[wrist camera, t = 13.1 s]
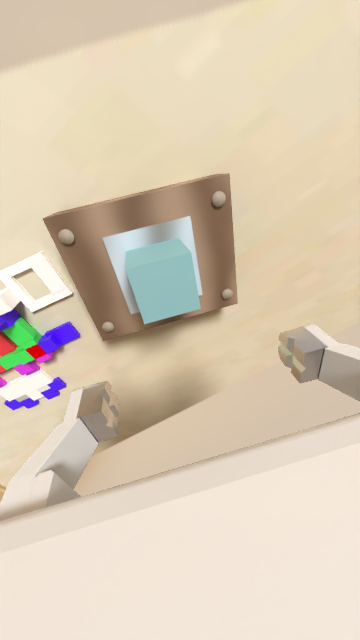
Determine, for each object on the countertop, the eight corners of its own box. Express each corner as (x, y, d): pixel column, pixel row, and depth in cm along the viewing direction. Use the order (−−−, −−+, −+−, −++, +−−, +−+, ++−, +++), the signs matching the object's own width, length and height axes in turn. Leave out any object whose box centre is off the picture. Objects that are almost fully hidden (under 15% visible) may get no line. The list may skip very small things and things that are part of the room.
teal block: (178, 237, 21) (191, 251, 17) (187, 286, 24) (200, 308, 19) (125, 251, 21) (125, 269, 16) (141, 298, 23) (144, 324, 19)
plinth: (214, 174, 23) (230, 173, 19) (225, 289, 30) (238, 304, 26) (55, 212, 22) (41, 219, 18) (106, 322, 29) (103, 342, 25)
